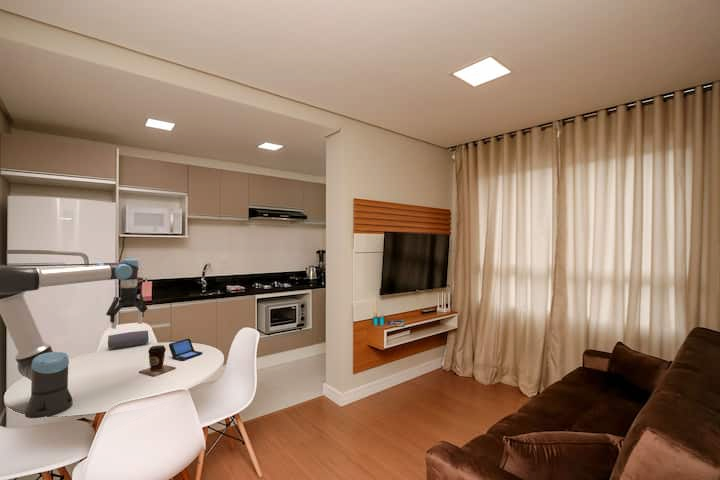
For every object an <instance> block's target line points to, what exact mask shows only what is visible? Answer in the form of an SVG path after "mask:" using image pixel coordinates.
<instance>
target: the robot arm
mask: <svg viewBox="0 0 720 480" xmlns="http://www.w3.org/2000/svg"><path fill="white" fill-rule="evenodd" d="M138 272H139V260H138V259H137V258H123V259H122V260H121V262H97V263H96V264H95V265H87V266H73V267H58V268H46V269H45V268H44V269H39V268H38V267H16V266H10V265H5V264H0V316H1V318H2V320H3V323H4V324H5V327H6V329H7V331H8V334H9V335H10V337H11V340H12V342H13V344H14V346H15V349H16V351H17V354H16V355H15V357H14V358H15V360H16V362H17V370H18V373H19V374H20V375H21V376H23V377H24V378H27V379H29V380H30V381H31V387H30V388H31V390H30V391H31V394H30V398H29V399H28V402H27V405H26V407H25V409H24V417H25V418H27V419H39V418H47V417H51V416H53V415H58V414H60V413H62V412H65V411H67V410H68V409H70V408H72V406H73V405H74V404H73V402H74V401H73V400H74V399H73V397H72V394H71V392H70V390H69V388H68V387H69V363H70V361H69V355H68V354H67V353H66V352H62V351H59V352H58V351H53V349H52V347H51V345H50V343H47V342H45V341H44V340H43V337H42V335H41V333H40V331H39V328H38V327H37V324H36V322H35V319H34V317H33V314H32V312H31V310H30V308H29V305H28V303H27V301H26V299H25V296H24V294H25V293H26V292H32V291H38V290H39V289H41V288H46V287H47V288H48V287H57V286H63V285H73V284H82V283H84V284H85V283H91V282H92V283H93V282H100V281H113V280H120V292H119V294H120V296H119V297H118V296H114V297H113V300H112V303H111V305H109V308H108V309H107V312H105V315H106V316H108V317H109V322H110V323H111V329H113V330H114V329H117V314H118V312H119V311H121V309H122V308H123V307H124V306H125V305H133V306H134V307H136V309H137V310H138V312H137V324H139V325H142V324H143V318H144V316H145V312H146V311H148V310H149V309H148V307H147V304H146V302H145V300H144V298H143V294H137V293H138V287H137V286H138V274H139V273H138ZM137 300H138V301H137ZM138 302H139V303H138Z"/></svg>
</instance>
